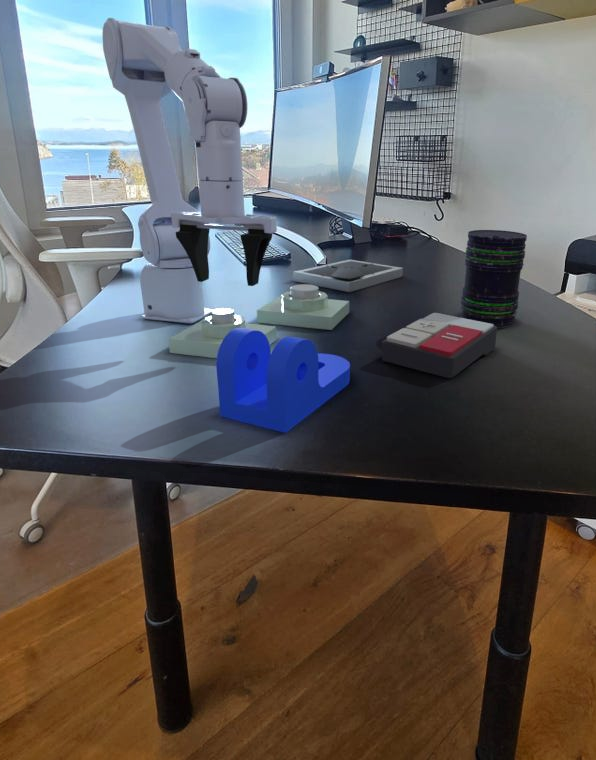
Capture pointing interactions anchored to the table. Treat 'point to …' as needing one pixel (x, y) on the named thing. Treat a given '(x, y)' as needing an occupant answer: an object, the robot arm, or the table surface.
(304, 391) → the bracket
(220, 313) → the half button
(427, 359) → the calculator
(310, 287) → the full button
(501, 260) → the storage jar
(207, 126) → the robot arm
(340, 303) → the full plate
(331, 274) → the picture frame
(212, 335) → the pale green button base
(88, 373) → the table surface
